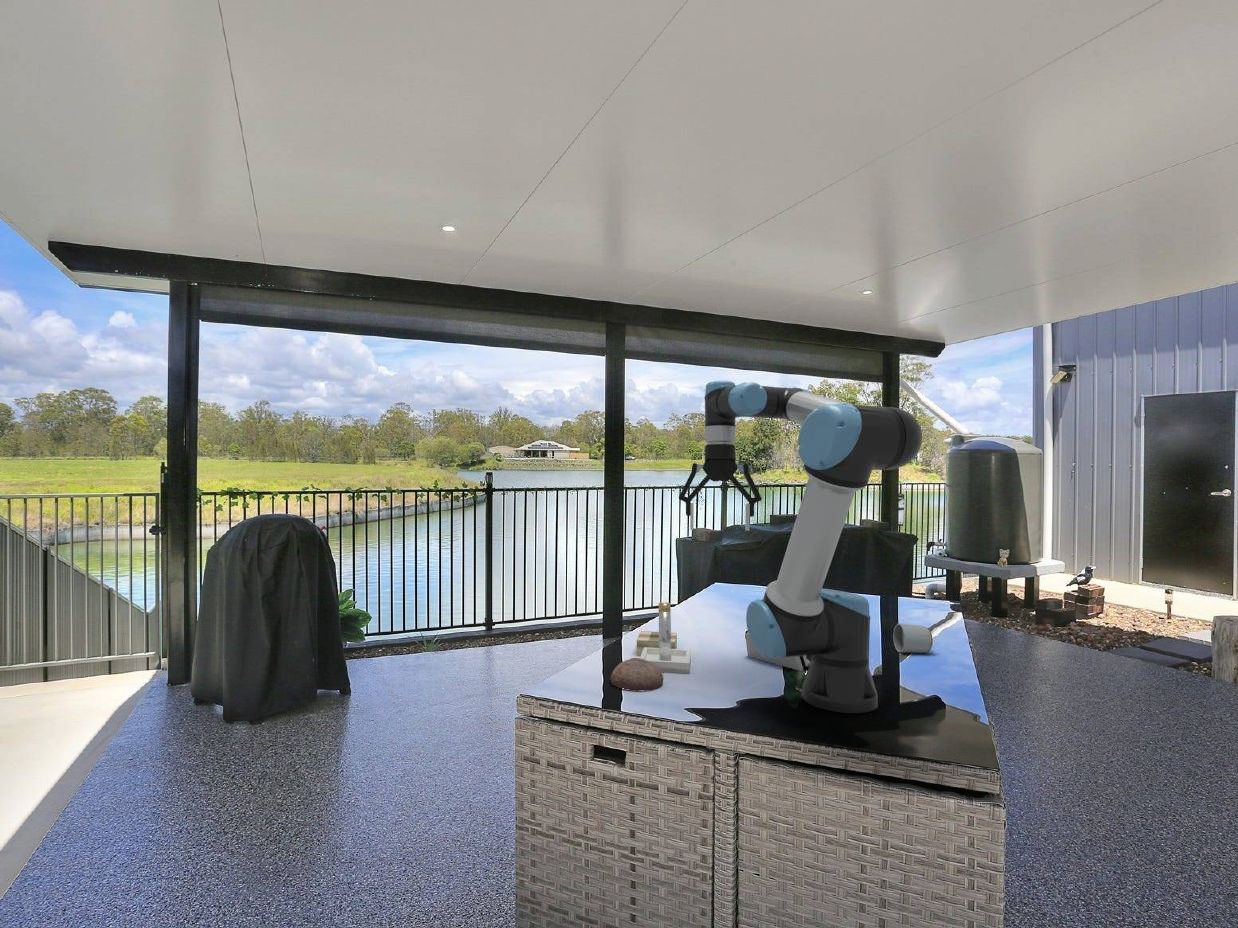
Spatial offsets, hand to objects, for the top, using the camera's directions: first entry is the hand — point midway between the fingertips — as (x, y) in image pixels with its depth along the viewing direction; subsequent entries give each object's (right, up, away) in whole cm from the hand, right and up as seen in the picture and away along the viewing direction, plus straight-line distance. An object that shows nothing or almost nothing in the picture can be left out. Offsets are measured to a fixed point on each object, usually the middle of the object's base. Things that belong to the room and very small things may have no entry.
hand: (719, 529), depth 162 cm
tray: (-13, -34, +1) cm, 36 cm away
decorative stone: (-21, -34, -13) cm, 42 cm away
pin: (-13, -33, +1) cm, 35 cm away
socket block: (-15, -34, +13) cm, 39 cm away
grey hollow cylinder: (+55, -35, +18) cm, 68 cm away
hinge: (+15, -35, +5) cm, 38 cm away
